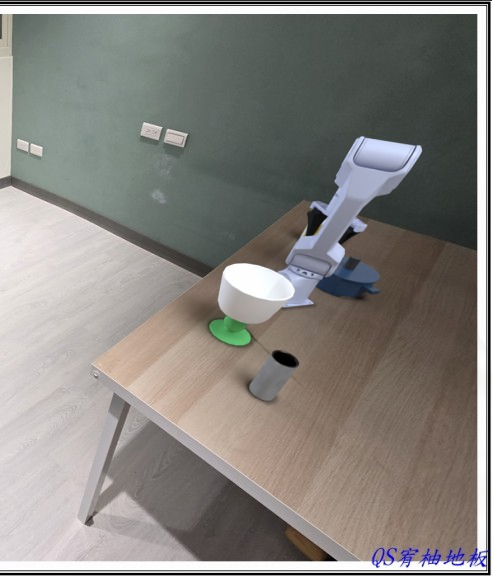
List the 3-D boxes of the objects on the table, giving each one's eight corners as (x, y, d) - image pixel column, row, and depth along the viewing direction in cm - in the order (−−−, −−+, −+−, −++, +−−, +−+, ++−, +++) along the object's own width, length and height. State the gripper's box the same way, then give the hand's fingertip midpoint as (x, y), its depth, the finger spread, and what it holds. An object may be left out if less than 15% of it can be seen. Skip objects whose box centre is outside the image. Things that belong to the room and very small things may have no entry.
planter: (251, 379, 80) (273, 346, 74) (275, 390, 78) (301, 357, 71) (246, 393, 77) (269, 359, 71) (271, 405, 75) (298, 371, 68)
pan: (345, 307, 99) (357, 291, 96) (292, 269, 113) (301, 254, 110) (385, 302, 101) (398, 286, 97) (328, 265, 114) (338, 250, 111)
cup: (186, 319, 95) (209, 267, 85) (231, 309, 98) (258, 259, 88) (227, 358, 85) (258, 305, 75) (275, 347, 87) (311, 294, 78)
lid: (347, 287, 98) (357, 273, 95) (305, 260, 108) (314, 246, 105) (390, 283, 99) (402, 269, 97) (345, 256, 110) (355, 242, 107)
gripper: (389, 208, 92) (356, 255, 100) (337, 185, 103) (311, 229, 111) (364, 210, 91) (333, 257, 99) (315, 186, 102) (290, 230, 110)
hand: (320, 242), depth 105 cm, fingers open, 7 cm apart
